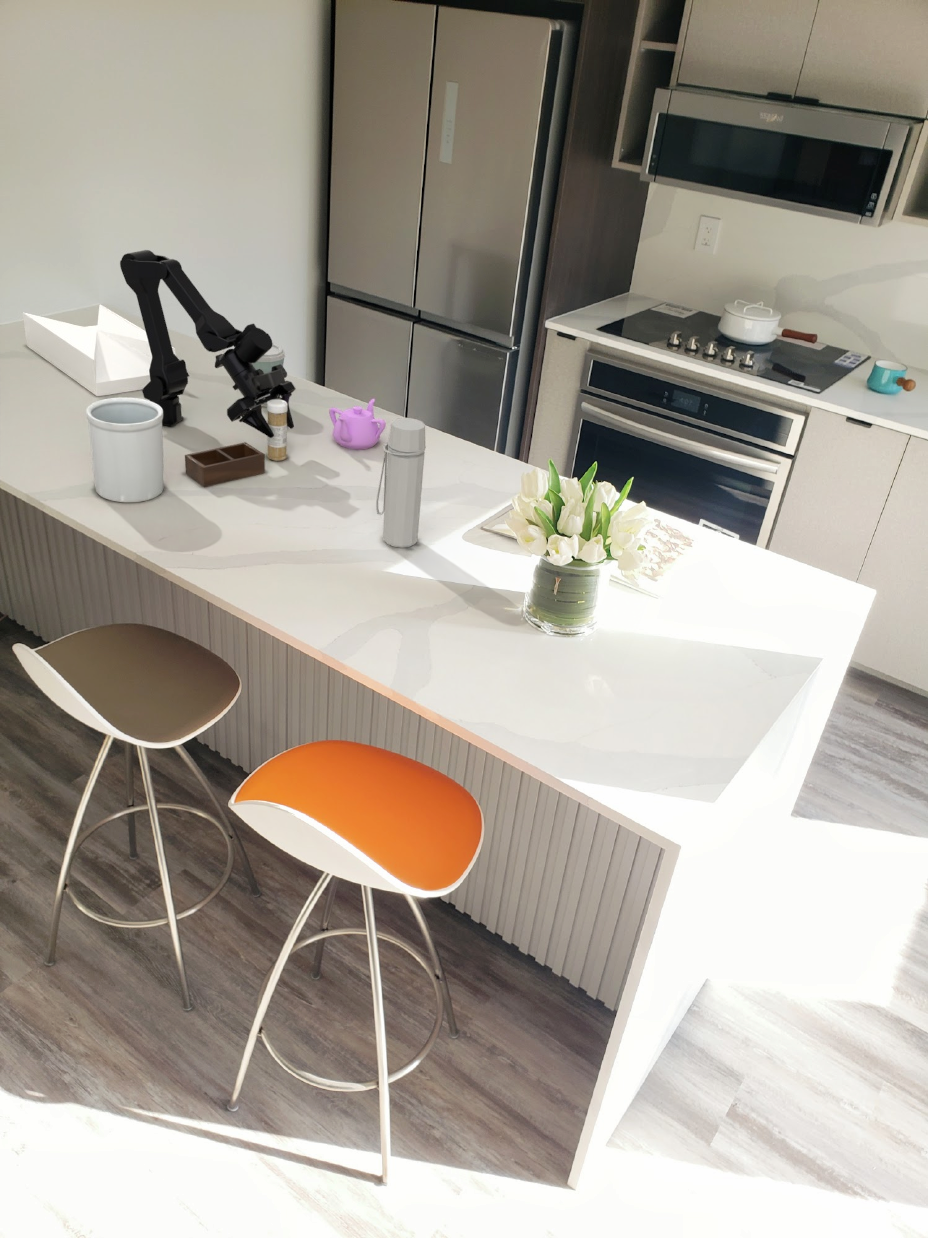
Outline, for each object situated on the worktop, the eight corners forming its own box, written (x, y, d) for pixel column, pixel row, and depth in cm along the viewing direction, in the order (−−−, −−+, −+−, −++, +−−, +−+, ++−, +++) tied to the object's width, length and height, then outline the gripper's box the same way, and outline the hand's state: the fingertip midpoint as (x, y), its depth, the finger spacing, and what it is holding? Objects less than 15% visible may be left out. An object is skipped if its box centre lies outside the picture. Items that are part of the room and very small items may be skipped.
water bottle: (423, 537, 207) (433, 421, 194) (409, 553, 201) (418, 434, 188) (382, 527, 209) (389, 412, 196) (367, 542, 203) (373, 424, 190)
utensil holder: (182, 486, 216) (178, 408, 207) (135, 510, 205) (128, 429, 196) (127, 469, 221) (121, 391, 212) (78, 492, 209) (69, 411, 200)
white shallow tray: (177, 383, 269) (175, 348, 264) (97, 396, 256) (93, 359, 251) (102, 336, 296) (99, 303, 291) (26, 345, 283) (22, 311, 278)
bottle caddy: (185, 473, 222) (184, 454, 220) (245, 460, 231) (245, 441, 229) (204, 487, 217) (203, 467, 215) (264, 472, 226) (264, 454, 224)
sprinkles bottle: (276, 452, 237) (276, 396, 230) (291, 457, 235) (291, 402, 228) (262, 457, 234) (262, 401, 227) (278, 463, 232) (278, 407, 225)
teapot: (338, 453, 240) (339, 417, 235) (326, 431, 251) (327, 397, 246) (386, 451, 244) (388, 416, 239) (372, 430, 255) (374, 396, 250)
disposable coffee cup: (293, 403, 265) (294, 346, 257) (265, 413, 257) (265, 355, 249) (263, 392, 270) (262, 336, 262) (234, 402, 262) (233, 345, 254)
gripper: (236, 364, 216) (277, 426, 218) (289, 345, 231) (327, 404, 232) (208, 390, 223) (249, 450, 225) (261, 371, 238) (299, 427, 239)
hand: (282, 432), depth 230 cm, fingers open, 7 cm apart
